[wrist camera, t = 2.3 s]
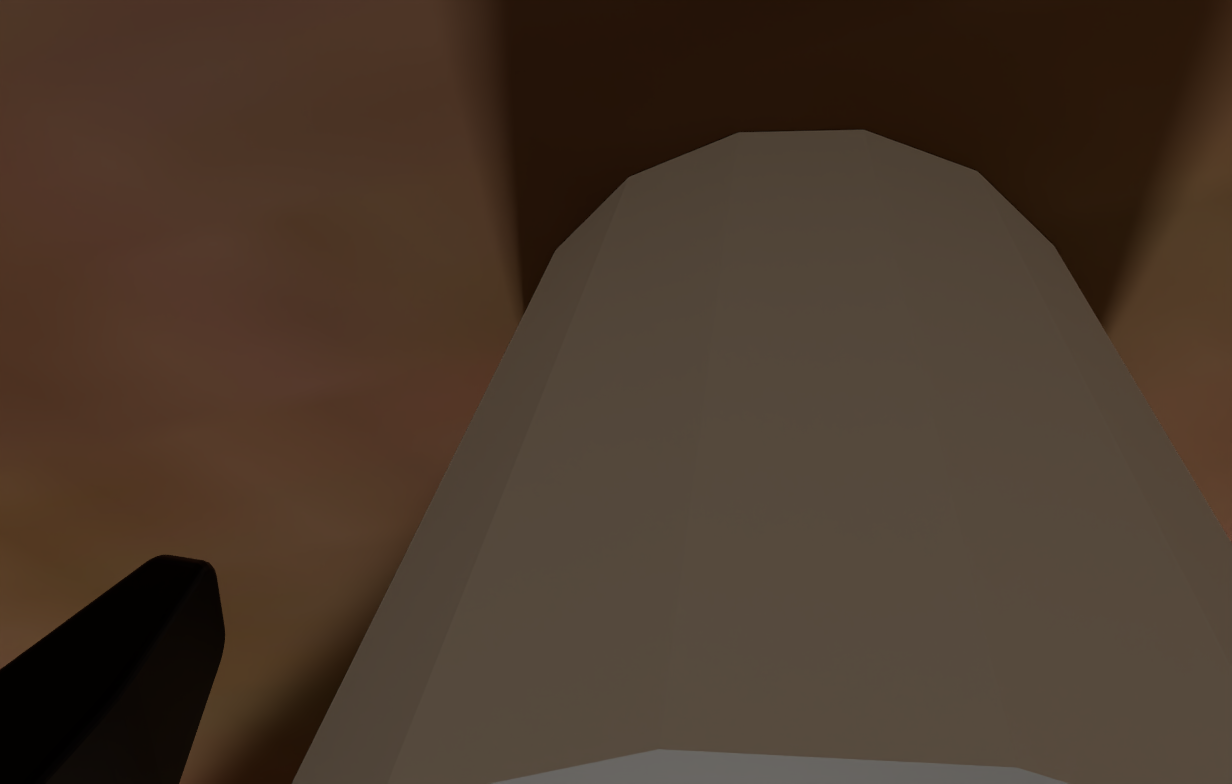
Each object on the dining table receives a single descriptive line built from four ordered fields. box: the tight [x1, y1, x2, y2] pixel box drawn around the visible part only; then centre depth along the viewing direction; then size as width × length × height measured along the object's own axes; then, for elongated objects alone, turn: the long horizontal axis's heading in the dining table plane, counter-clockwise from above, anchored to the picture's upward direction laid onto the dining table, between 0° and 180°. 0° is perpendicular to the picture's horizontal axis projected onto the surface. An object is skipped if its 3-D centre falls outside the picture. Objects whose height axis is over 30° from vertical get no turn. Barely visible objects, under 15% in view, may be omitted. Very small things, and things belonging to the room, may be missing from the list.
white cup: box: [292, 130, 1232, 784], centre depth 9 cm, size 7×7×7 cm
